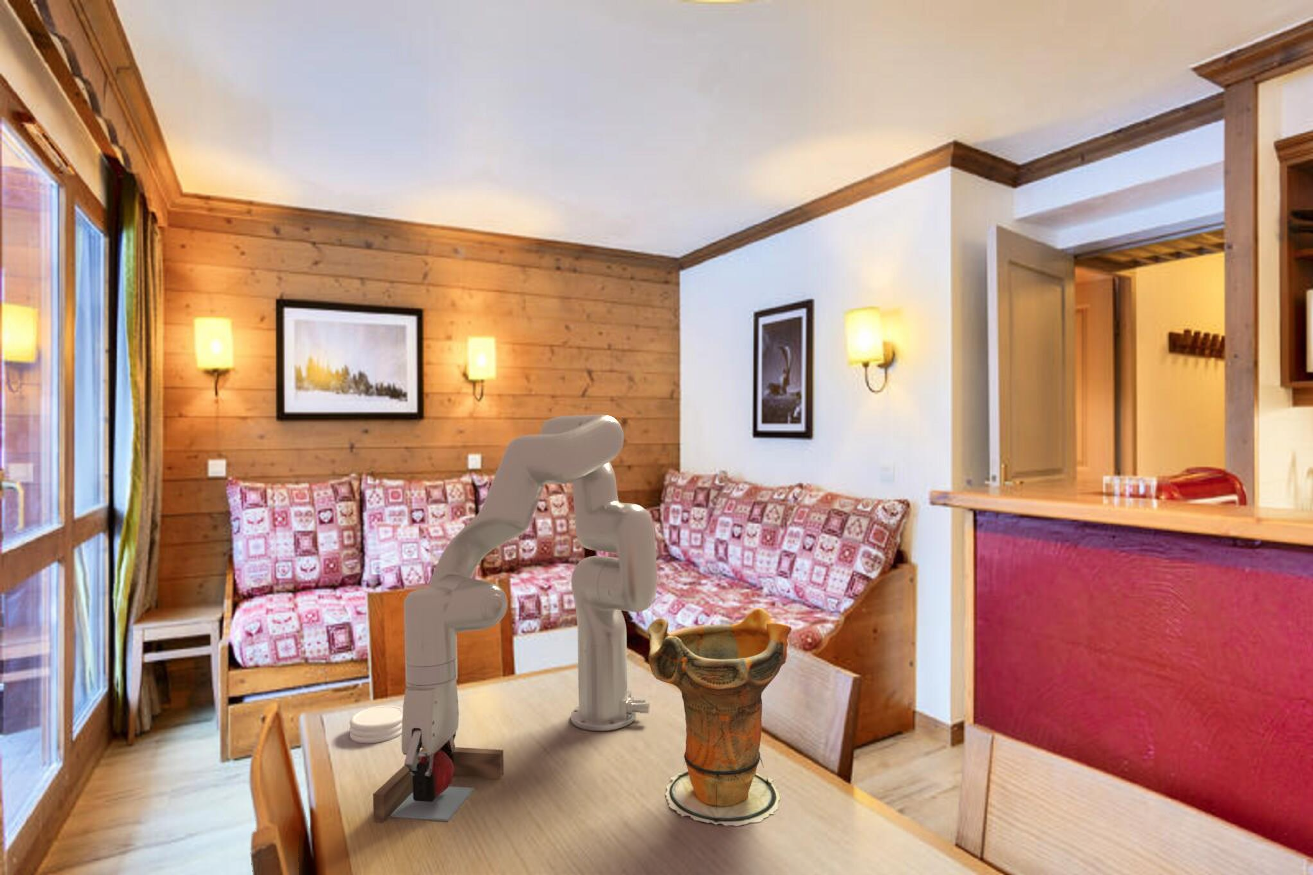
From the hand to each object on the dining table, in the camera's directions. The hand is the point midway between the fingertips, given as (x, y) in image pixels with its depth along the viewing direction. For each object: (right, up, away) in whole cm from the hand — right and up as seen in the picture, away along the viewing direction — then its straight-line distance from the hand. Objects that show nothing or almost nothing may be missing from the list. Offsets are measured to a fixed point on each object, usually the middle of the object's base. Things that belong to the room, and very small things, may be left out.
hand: (434, 787), depth 108 cm
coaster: (-19, -3, +26) cm, 32 cm away
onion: (0, -2, 0) cm, 2 cm away
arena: (+1, -2, +2) cm, 3 cm away
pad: (0, -2, 0) cm, 2 cm away
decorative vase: (+44, -2, +1) cm, 44 cm away
